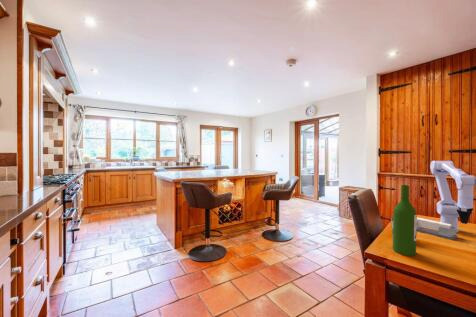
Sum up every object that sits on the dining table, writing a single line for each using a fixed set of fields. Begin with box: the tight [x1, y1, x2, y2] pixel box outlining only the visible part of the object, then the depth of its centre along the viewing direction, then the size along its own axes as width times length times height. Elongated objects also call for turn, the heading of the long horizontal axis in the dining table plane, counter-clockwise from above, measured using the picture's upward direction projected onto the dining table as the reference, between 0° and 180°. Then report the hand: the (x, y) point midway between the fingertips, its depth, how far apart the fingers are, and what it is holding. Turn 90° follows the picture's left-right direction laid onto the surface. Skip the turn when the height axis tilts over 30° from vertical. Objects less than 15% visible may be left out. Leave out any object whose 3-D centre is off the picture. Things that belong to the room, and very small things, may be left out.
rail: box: [417, 216, 452, 231], centre depth 126 cm, size 4×18×4 cm, turn 32°
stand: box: [417, 222, 458, 241], centre depth 126 cm, size 8×22×6 cm, turn 32°
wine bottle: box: [392, 184, 418, 257], centre depth 101 cm, size 9×9×32 cm
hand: (464, 221), depth 115 cm, fingers open, 7 cm apart
